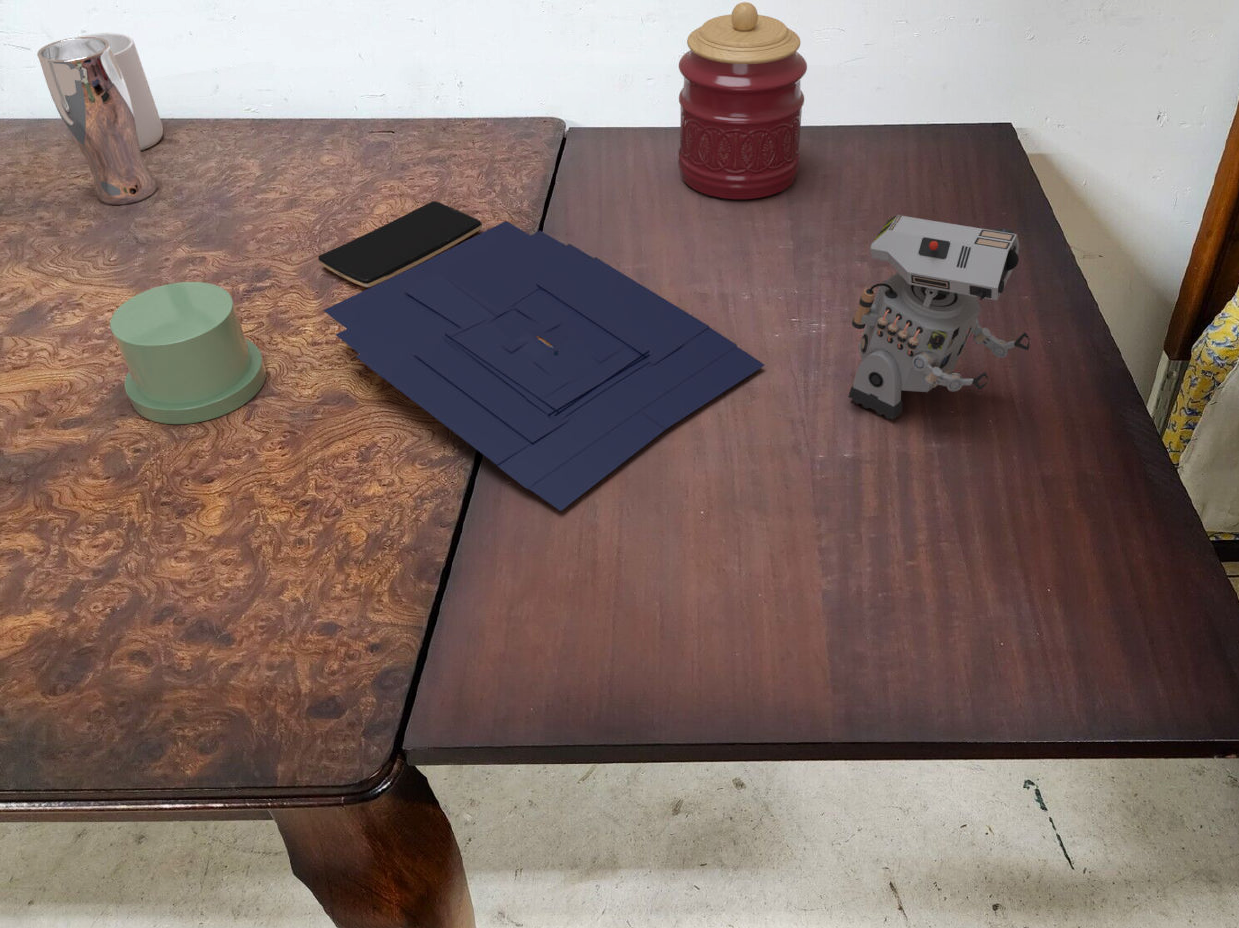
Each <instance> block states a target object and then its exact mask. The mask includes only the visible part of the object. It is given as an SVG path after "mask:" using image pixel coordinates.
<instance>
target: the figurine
mask: <svg viewBox="0 0 1239 928" xmlns="http://www.w3.org/2000/svg"><path fill="white" fill-rule="evenodd" d="M1018 237H1019V236H1018V234H1017V233H1014V230H1011V228H994V229H993V230H992V229H986V228H980V227H974V226H968V225H961V224H957V223H956V224H955V223H950V222H943V221H937V220H931V219H925V218H918V217H913V216H906V215H899V214H897V215H895V216H893V217H891V218H889V219H888V220H887V221H886V222H885V224H884V225H883V226H882V228H881V230H880V231H879V233H878V234H877V236H876V237H875V238H874V240H873V241H872V242H871V246H870V254H871V259H874V260H878V261H883V262H884V261H885V262H888V263H889V264H890V265H891V266H892V267H893V269H895V271H897V272H896V273H894V274H892V276H891V277H889V278H888V279H886V280H885V281H883V282H882V283H876V284H874V285H872V286H871V287H866V288H864V289H863V291H862V295H861V296H860V297H859V301H858V306H857V309H856V312H855V315H854V317H853V318H852V322H851V325H852V327H854V328H855V329H857V330H863V329H864V330H863V333H862V336H861V339H860V342H859V345H858V350H859V355H860V359H861V362H860V364H859V365H858V368H857V370H856V373H855V376H854V382H853V385H852V386H851V387H850V390H849V392H848V398H850V399H851V400H853V403H854V404H856V405H859V404H861V405H862V407H863V408H864V409H869V408H870V409H872V410H874V411H875V413H876V414H877V415H878V416H882V415H884V418H885V419H887V420H891V419H893V420H895V419H896V418H897V417H898V416H900V415H901V414H902V413H903V400H902V398H901V397H902V391H904V392H905V391H906V392H920V393H921V392H922V393H928V392H930V391H931V390H932V389H933V388H934V389H935V388H936V387H937V386H941V387H946V388H947V390H948V391H949V392H958V391H959V390H960V389H962V387H963V386H971V385H972V384H973V385H974V386H975V388H976V389H978V390H979V391H980V390H982V389H983V388H984V387H985V386H986V385H987V384H988V382H985V383H983V384H981V385H980V384H979V381H980V380H981V379H982V378H984V377H985V378H986V379H990V378H989V376H988V374H987V373H986V372H985V371H984V372H982V374H980V375H978V376H977V377H974V378H963V377H962V375H961V374H960V373H958V372H954V370H955V368H956V367H957V364H958V362H959V359H960V357H961V354H962V353H963V350H964V349H965V346H966V344H967V341H968V339H969V337H970V335H971V334H973V335H974V336H973V341H974V343H975V344H977V345H983V346H984V347H986V348H988V349H990V351H991V352H992V354H993V355H994V356H995V357H998V358H1000V359H1001V358H1006V357H1007V356H1008V352H1009V350H1011V349H1014V348H1015V347H1017V348H1021V349H1023V350H1026V351H1029V349H1030V341H1031V339H1030V336H1029V335H1028V333H1027V332H1023V333H1022V334H1021V335H1020V336H1019V337H1018V338H1017V339H1015V340H1011V341H1007V342H1006V341H1005V340H1003V339H1000V338H997V337H996V336H995V335H993V334H992V333H991V330H990V329H989V328H987V327H981V326H980V322H979V319H978V317H979V314H980V312H981V305H980V303H979V301H978V298H979V300H980V301H982V300H983V299H986V300H992V301H996V302H997V301H998V299H999V297H1000V295H1002V294H1003V292H1004V289H1005V286H1006V284H1007V281H1008V280H1009V278H1010V276H1011V275H1012V272H1013V271H1014V269H1016V267H1017V266H1018V264H1019V259H1020V258H1019V251H1020V242H1019V238H1018ZM877 287H878V290H877V292H876V291H875V290H874V289H875V288H877ZM1024 338H1026V339H1027V340H1028V343H1027V346H1026V345H1024V344H1022V343H1021V341H1022V340H1023V339H1024Z"/></svg>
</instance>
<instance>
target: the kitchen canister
mask: <svg viewBox="0 0 1239 928" xmlns="http://www.w3.org/2000/svg"><path fill="white" fill-rule="evenodd" d="M686 44H687V47H688V48H689V50H688V51H686V53H684V54H683V55H682V56H681V58H680V60H679V62H678V70H679V73H680V74H681V76H682V77H683V86H682V87H683V88H682V89H681V90H680V92H679V95H678V103H679V106H680V138H679V139H680V140H679V141H680V144H679V145H680V146H679V149H678V165H679V168H680V174H681V175H680V176H681V177H682V180H683V181H684V182H685V183H686V185H687V186H689V187H690V188H692V189H693V190H695V191H697V192H699V193H701V194H704V195H707V196H710V197H714V198H719V199H727V200H754V199H761V198H766V197H769V196H773V195H776V194H779V193H780V192H783V191H784V190H786V189H788V188H789V187H790V186H791V185H792V184H793V183H794V181H795V180H796V176H797V172H798V170H799V167H800V159H801V152H800V138H801V126H802V125H801V124H802V113H803V112H802V111H803V106H804V104H805V95H804V93H803V91H802V89H801V79H802V78H803V77H804V76H805V75H806V73H807V70H808V63H807V61H806V59H805V57H803V55H801V53H799V52H798V50H799V48H800V47H801V37H800V36H799V35H798V34H797V33H796V32H795V31H794V30H792V29H790V28H789V27H787V26H786V24H785V23H784V22H782V21H781V20H779V19H777V18H774V17H771V16H767V15H762V14H758V10H757V8H756V6H755V5H754V4H752V2H747V1H743V2H739V3H737V4H736V5H735V6H734V7H733V9H732V11H731V14H725V15H718V16H715V17H713V18H711V19H708V20H707V21H705V22H704V23H703V24H702V25H701V26H699V27H698V28H696V29H694V30H693V31H692V32H690V34H689V35H688V36H687V39H686Z"/></svg>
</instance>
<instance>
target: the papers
mask: <svg viewBox="0 0 1239 928" xmlns="http://www.w3.org/2000/svg"><path fill="white" fill-rule="evenodd" d="M322 311H323V312H325V314H327V315H328V316H329V317H331V318H332V319H333V320H334V321H336V322H337V323H339V324H340V325H341V326H342V327H343V328H345V329H343V330H341V331H339V332H337V333H335V336H336V337H337V338H338V339H340V340H341V341H342V342H344V343H345V344H346V345H347V346H348V347H350V348H351V349H352V350H353V351H355V352H356V353H357V355H356V356H355V358H357V359H358V360H359V361H360V362H361V363H363V364H364V365H365V366H367V367H368V368H369V369H370V370H371V371H373V372H374V373H375V374H376V375H378V376H379V377H380V378H381V379H383V380H384V381H386V382H388V383H389V384H390V385H392V386H393V387H394V388H396V389H397V390H398V391H399V392H401V393H402V394H403V395H405V397H407V398H409V399H410V400H411V401H412V402H414V403H415V404H416V405H418V406H419V407H421V408H422V409H423V410H424V411H425V412H427V413H428V414H430V416H432V417H433V418H435V419H436V420H438V421H439V422H440V423H441V424H442V425H444V426H445V427H446V428H447V429H449V430H450V431H451V432H453V433H454V434H456V435H457V436H458V437H460V438H461V439H462V440H463V441H465V442H466V443H467V444H469V445H470V446H471V447H473V448H474V449H475V450H477V451H478V452H479V453H480V454H482V455H483V456H484V457H486V458H487V459H489V460H490V461H491V463H492V464H494V465H495V466H496V467H497V468H499V469H500V470H501V471H503V472H504V473H505V474H506V475H508V476H509V477H510V478H511V479H513V480H514V481H516V482H517V483H518V484H519V485H521V486H522V487H523V488H525V489H526V490H530V491H531V492H533V493H534V494H535V495H537V496H538V497H540V498H541V499H542V500H544V501H545V502H547V503H548V504H550V505H551V506H553V507H554V508H555V509H557V510H558V511H559V512H561V511H563V510H565V508H567V507H568V506H569V505H570V504H572V503H573V502H574V501H576V500H577V499H578V498H580V497H581V496H582V495H584V494H585V493H586V492H587V491H589V490H590V489H591V488H593V486H595V485H597V483H599V482H601V480H603V479H604V478H605V477H607V476H609V474H611V473H612V472H613V471H615V470H616V469H617V468H618V467H620V466H621V465H622V464H623V463H625V462H626V461H627V460H629V458H631V457H632V456H634V455H635V454H636V453H637V452H639V451H640V450H641V449H643V448H644V447H645V446H646V445H648V444H649V443H650V442H651V441H653V440H654V439H655V438H656V437H658V436H659V435H661V434H662V433H663V432H664V431H666V430H667V429H669V428H671V426H673V425H675V424H676V423H678V422H680V421H681V420H682V419H684V418H686V417H687V416H689V415H690V414H692V413H694V412H695V411H697V410H698V409H699V408H701V407H703V406H704V405H706V404H707V403H709V402H711V401H713V400H714V399H716V398H717V397H718V396H720V395H721V394H723V393H725V392H726V391H727V390H729V389H731V388H732V387H734V386H735V385H736V384H739V383H740V382H742V381H743V380H744V379H746V378H747V377H749V376H751V375H752V374H754V373H756V372H757V371H759V370H760V369H762V368H764V367H765V366H766V365H765V363H763V362H762V361H760V360H758V359H757V358H755V357H754V356H752V355H750V354H749V353H748V352H746V351H744V350H743V349H742V348H740V347H738V345H737V344H736V343H735V342H733V341H732V340H730V339H729V338H727V337H726V336H724V335H722V334H721V333H720V332H718V331H716V330H715V329H713V328H711V326H710V325H709V324H707V323H705V322H703V321H701V320H700V319H699V318H696V316H693V315H692V314H690V313H689V312H687V311H685V310H684V309H682V308H680V307H679V306H677V305H675V304H673V303H672V302H670V301H668V300H667V299H665V298H664V297H662V296H660V295H659V294H657V293H655V292H654V291H652V290H651V289H649V288H648V287H646V286H644V285H643V284H640V283H639V282H637V281H636V280H634V279H633V278H631V277H629V276H627V275H626V274H625V273H622V272H621V271H619V270H618V269H616V268H614V267H613V266H611V265H610V264H608V263H606V262H604V261H602V260H601V259H599V258H598V257H596V256H594V257H593V256H591V255H589V254H588V253H586V252H584V251H583V250H581V249H579V248H578V247H576V246H574V245H573V244H571V243H568V244H564V243H563V242H561V241H559V240H557V239H556V238H554V237H552V236H550V235H548V234H547V233H545V232H543V231H542V230H539V231H537V232H535V233H533V234H531V235H530V234H529V233H528V232H526V231H524V230H522V229H521V228H520V227H517V226H516V225H514V224H512V223H511V222H509V221H508V220H505V221H503V222H501V223H499V224H497V225H495V226H493V227H490V228H489V229H487V230H484V231H483V232H481V233H479V234H477V235H474V236H473V237H471V238H469V239H467V240H465V241H463V242H461V243H459V244H456V245H454V246H452V247H450V248H448V249H446V250H444V251H442V252H441V253H439V254H437V255H435V256H433V257H431V258H429V259H427V260H426V261H424V262H422V263H420V264H418V265H416V266H414V267H412V268H410V269H408V270H406V271H404V272H402V273H400V274H398V275H395V276H393V277H391V278H389V279H387V280H385V281H382V282H380V283H378V284H376V285H373V286H371V287H368V288H367V289H365V290H362V291H361V292H358V293H356V294H354V295H351V296H350V297H347V298H346V299H343V300H341V301H340V302H337V303H335V304H333V305H331V306H329V307H326V308H325V309H323V310H322Z"/></svg>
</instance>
